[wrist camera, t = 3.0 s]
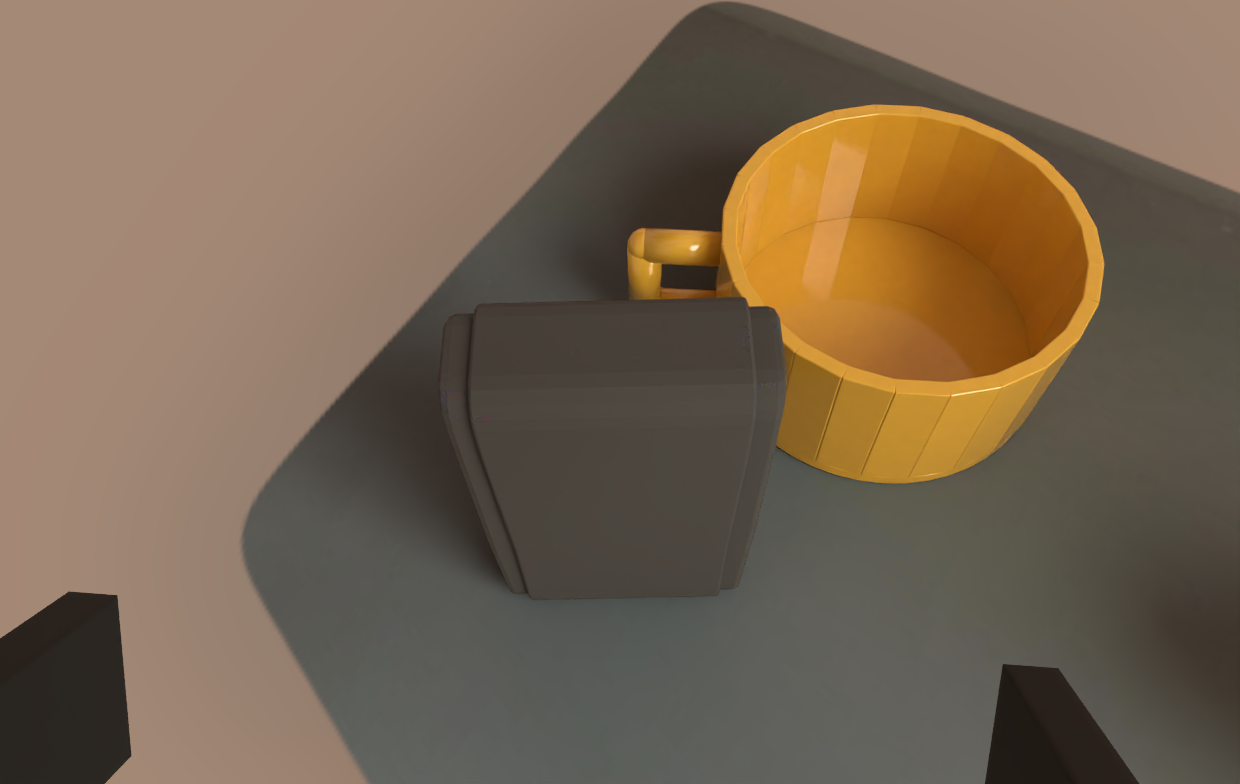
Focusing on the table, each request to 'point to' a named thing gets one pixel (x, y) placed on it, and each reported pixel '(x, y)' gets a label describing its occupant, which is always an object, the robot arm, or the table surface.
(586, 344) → the card reader
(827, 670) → the table surface
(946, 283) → the mug
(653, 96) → the table surface
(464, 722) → the table surface
